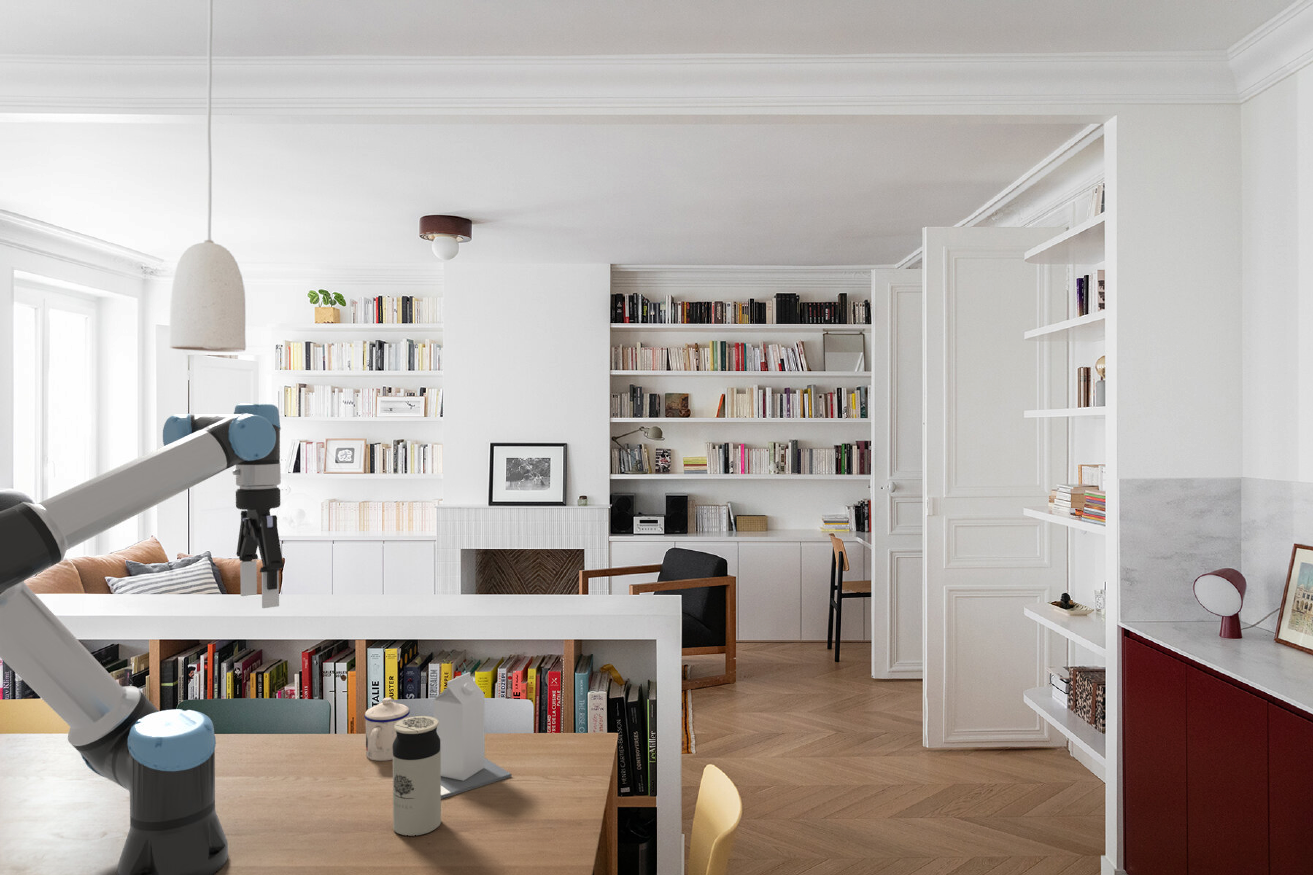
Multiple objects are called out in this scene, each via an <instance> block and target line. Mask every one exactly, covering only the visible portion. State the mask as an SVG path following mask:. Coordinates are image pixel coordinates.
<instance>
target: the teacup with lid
mask: <svg viewBox="0 0 1313 875" xmlns="http://www.w3.org/2000/svg"><path fill="white" fill-rule="evenodd" d="M381 701H382V702H380V703H378V704H376V705H375V706H371V707H370V708H368V709H367V710H366V711H365V714H364V719H365V755H366V756H365V757H367V758H368V759H369V760H372V761H376V762H387V761H393V742H394V740H395V739H396V737H397V734H396V730H395V729H394V725H395V724H396V723H397V722H398V721H400V720H402V719H405V718H409V715H410V711H411V710H410V708H409V707H408V706H406V704H403V703H398V702H396V701H393V699H392V697H384V698H383V699H382V700H381Z"/></svg>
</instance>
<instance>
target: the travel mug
mask: <svg viewBox="0 0 1313 875" xmlns="http://www.w3.org/2000/svg"><path fill="white" fill-rule="evenodd" d="M408 717H409V716H408ZM438 725H439V721H438V720H437V719H436V718H434V716H427V715H421V716H419V715H418V716H417V715H416V716H410V717H409V718H405V719H402V720H400V721H398V722H397V723H396V724H395V725H394V729H395V730H396V734H397V737H396V739H395V740H394V742H393V760H392V822H393V823H392V825H393V826H392V828H393V831H394V832H395V833H397V834H400V835H403V836H407V835H408V836H409V837H414V836H415V835H416V836H421V835H425V834H428V833H431V832H432V831H434V830H436V829H437V828H438V827H440V825H441V822H442V802H441V801H442V799H441V752H440V738H439V736H438V734H437V732H436V731H437V726H438ZM416 836H415V837H416Z"/></svg>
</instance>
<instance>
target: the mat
mask: <svg viewBox="0 0 1313 875" xmlns="http://www.w3.org/2000/svg"><path fill="white" fill-rule="evenodd" d="M509 778H512V773H511V772H509V771H507V770H506V769H504V767H501V766H499V765H497V764H496V763H494V762H492V761H491V760H489V759H488V758H486V757H485V767H484V768H483V769H481V770H480V771H478V772H477V773H475V774H474V775H472V776H470V777H469V778H467V779H466V780H464V781H461V780H457V779H452V778H447V777H443V776H441V800H442V799H446V798H448V797H451V796H455V795H458V794H462V793H465V792H468V791H471V790H473V789H476V788H477V789H478V788H482V787H483V786H486V785H489V784H493V783H496V782H499V781H502V780H505V779H509Z"/></svg>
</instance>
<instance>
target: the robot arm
mask: <svg viewBox="0 0 1313 875" xmlns="http://www.w3.org/2000/svg"><path fill="white" fill-rule="evenodd" d="M279 411H280V410H279V408H278V407H277V405H275V404H272V403H271V404H270V403H269V404H267V403H262V404H261V403H239V404H236V406H234V411H233V414H230V413H229V414H221V413H220V414H217V413H215V414H212V413H211V414H202V413H200V414H198V413H197V414H196V413H195V414H194V413H193V414H192V413H191V414H190V413H185V414H173V415H170V416H169V417H168V418H167V419H166V421H165V422H164V424H163V427H162V428H163V429H162V442H163V446H162V447H159V448H157V449H155V450H152V451H150V452H148V453H146V454H144V455H142V456H139V457H138V458H135V459H133V460H131V461H128V462H126V463H124V464H122V465H120V466H118V467H116V468H114V469H111V470H108V471H106V472H105V473H101V474H100V475H97V476H96V477H93V478H91V479H89V480H87V481H84V482H83V483H80V484H78V485H76V486H74V487H71V488H69V489H67V490H64V491H62V492H60V493H58V494H56V495H54V496H52V497H50V498H49V497H48V499H47V498H46V499H45V500H43V501H41V502H39V503H37V504H36V503H30V502H26V501H23V502H21V503H18V504H16V505H14V506H12V507H9V508H7V509H4V510H1V511H0V659H1V660H2V661H3V662H4V663H5V664H6V665H7V666H8V667H9V668H10V669H11V670H12V671H13V672H15V674H16V675H17V676H18V677H19V678H20V679H21V680H22V681H23V682H24V683H25V684H26V685H28V687H29V688H30V689H31V690H32V691H34V692H35V693H36V695H37V696H39V697H40V698H41V699H42V700H43V701H44V702H45V704H47V705H48V706H49V707H50V708H51V710H52V711H54V712H55V713H56V714H57V715H58V716H59V718H61V719H62V720H63V721H64V722H65V723H66V724H67V726H69V730H68V734H67V740H68V743H69V744H70V745H72V747H73V748H75V750H76V751H77V752H78V753H79V754H80V756H81V758H82V761H84V763H85V765H86V766H87V767H88V768H89V769H90V771H92V772H94V773H95V774H96V775H99V776H101V777H103V778H105V779H108V780H110V781H111V782H113V783H114V784H117V785H118V786H120V787H122V788H124V789H125V790H127V791H129V814H130V816H129V817H130V821H129V826H130V827H129V831H128V834H127V836H126V840H125V842H124V846H123V848H122V852H121V854H120V857H119V860H118V862H117V867H116V868H117V870H116V872H117V875H214V874H215V873H217V872H218V871H219V870H221V869H222V868H223V866H224V865H225V864H226V863H227V860H228V858H229V844H228V839H227V836H226V834H225V832H224V829H223V826H222V824H221V821H220V819H219V817H218V814H217V810H216V744H217V742H216V741H217V739H216V735H215V728H214V723H213V721H212V720H211V718H210V717H209V716H208V715H206V714H205V713H203V712H200V711H196V710H192V709H187V710H183V709H182V708H181V709H179V708H178V709H177V708H176V709H175V708H173V709H165V710H161V711H160V710H159V709H158V708H157V707H156V706H155V705H154V704H153V702H151V701H150V700H149V698H148V697H147V696H146V695H145V694H144V693H143V692H142V691H141V689H140V688H138V687H137V686H133V685H129V686H122V685H121V684H120V683H119V682H118V681H117V680H116V679H115V677H114V676H112V675H111V674H110V673H109V672H108V671H107V669H106V668H105V667H104V666H103V665H102V664H101V663H100V662H99V661H98V660H97V659H96V658H95V656H94V655H93V654H92V653H91V652H90V651H89V650H88V649H87V648H86V646H84V645H83V643H81V642H80V641H79V639H77V637H76V636H74V634H73V633H72V632H71V631H70V630H69V629H68V627H66V626H65V625H64V623H63V622H62V621H61V620H60V619H59V618H58V617H57V616H56V615H55V614H54V612H52V611H51V610H50V609H49V608H48V607H47V606H46V605H45V603H44V602H43V601H42V600H41V599H40V598H39V597H38V596H37V594H35V592H34V591H33V590H32V589H31V588H30V587H29V586H28V585H27V584H26V583H25V581H26V580H29V579H30V578H33V577H34V576H36V575H37V574H39V573H41V572H43V571H45V570H47V569H49V568H51V567H53V566H54V565H56V564H59V563H61V562H62V561H64V558H65V555H66V552H67V551H68V550H70V549H72V548H74V547H76V546H78V545H79V544H81V543H84V542H86V541H88V540H90V539H92V538H94V537H96V536H97V535H99V534H102V533H103V532H105V531H108V530H109V529H111V528H113V527H115V526H117V525H119V524H121V523H123V522H125V521H127V520H128V519H129V520H130V519H131V518H133V517H135V516H137V515H139V514H142V513H143V512H145V511H147V510H149V509H151V508H153V507H154V506H157V505H159V504H160V503H163V502H165V501H166V500H169V499H170V498H173V497H174V496H176V495H179V494H180V493H182V492H185V491H186V490H188V489H190V488H193V487H194V486H196V485H198V484H200V483H202V482H205V481H206V480H208V479H211V478H212V477H214V476H216V475H218V474H220V473H222V472H224V471H225V470H228V469H230V468H232V467H235V469H233V470H232V475H233V476H235V485H236V486H237V487H239V488H237V489H236V490H235V507H236V509H238V510H241V512H240V525H239V526H240V527H239V534H238V541H237V547H236V548H237V549H236V556H237V557H238V559H239V562H240V570H239V572H240V575H239V576H240V597H247V596H255V595H257V594H258V586H257V585H258V583H257V582H258V580H257V578H258V576H257V575H258V573H257V572H258V570H257V569H258V567H257V560H259V556H260V559H261V563H262V566H261V567H260V569H259V572H260V573H261V608H262V609H268V608H275V607H276V608H277V607H280V572H279V571H280V570H281V569H283V568H284V560H283V555H282V548H281V543H280V541H281V540H280V536H279V530H278V517H277V515H275V514H274V515H273V514H271V509H277V508H279V507H280V506H281V489H280V488H279V487H278V485H280V484H281V480H282V479H281V478H282V477H281V475H282V474H281V462H280V461H281V448H280V447H281V429H282V428H281V422H280V412H279ZM257 551H258V552H259V556H258V554H257ZM216 871H217V872H216Z"/></svg>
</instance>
